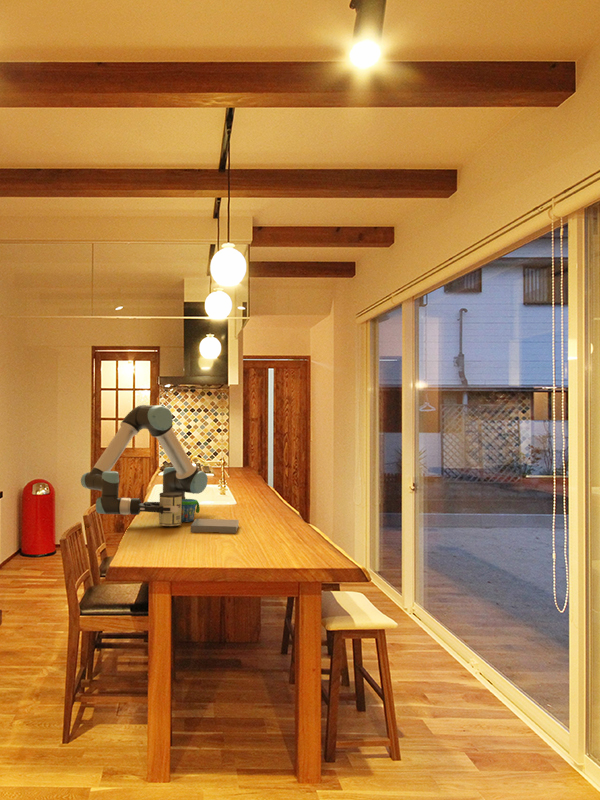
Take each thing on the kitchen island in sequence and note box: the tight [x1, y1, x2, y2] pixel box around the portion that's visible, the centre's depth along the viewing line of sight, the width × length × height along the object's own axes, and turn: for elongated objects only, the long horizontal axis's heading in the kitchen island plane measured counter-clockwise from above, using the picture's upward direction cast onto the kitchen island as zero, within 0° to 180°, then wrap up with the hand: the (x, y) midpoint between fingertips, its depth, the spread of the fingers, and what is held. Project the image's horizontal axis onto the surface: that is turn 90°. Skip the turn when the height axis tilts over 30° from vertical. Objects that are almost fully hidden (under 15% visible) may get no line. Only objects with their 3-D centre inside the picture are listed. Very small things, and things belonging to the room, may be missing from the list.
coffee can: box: [158, 491, 182, 527], centre depth 305 cm, size 10×10×14 cm
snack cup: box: [181, 498, 201, 523], centre depth 321 cm, size 16×10×10 cm
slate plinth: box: [190, 518, 240, 534], centre depth 303 cm, size 18×20×3 cm
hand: (179, 507), depth 305 cm, fingers closed on coffee can, 10 cm apart
